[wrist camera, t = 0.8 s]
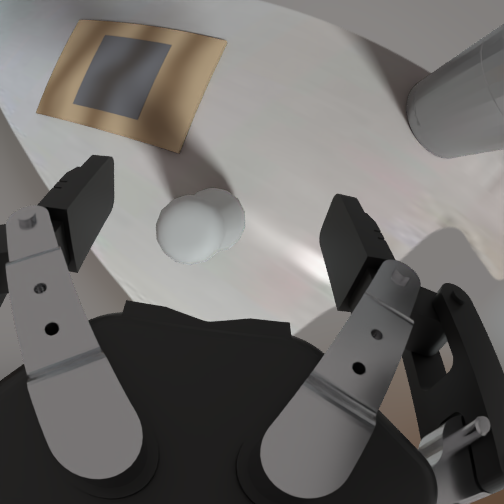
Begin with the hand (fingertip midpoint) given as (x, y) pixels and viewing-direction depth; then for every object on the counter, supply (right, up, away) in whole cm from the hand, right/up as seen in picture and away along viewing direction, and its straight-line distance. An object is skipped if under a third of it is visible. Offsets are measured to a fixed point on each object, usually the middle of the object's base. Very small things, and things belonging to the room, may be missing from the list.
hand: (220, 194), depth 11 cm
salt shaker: (-2, +1, +20) cm, 21 cm away
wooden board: (-13, +17, +18) cm, 28 cm away
